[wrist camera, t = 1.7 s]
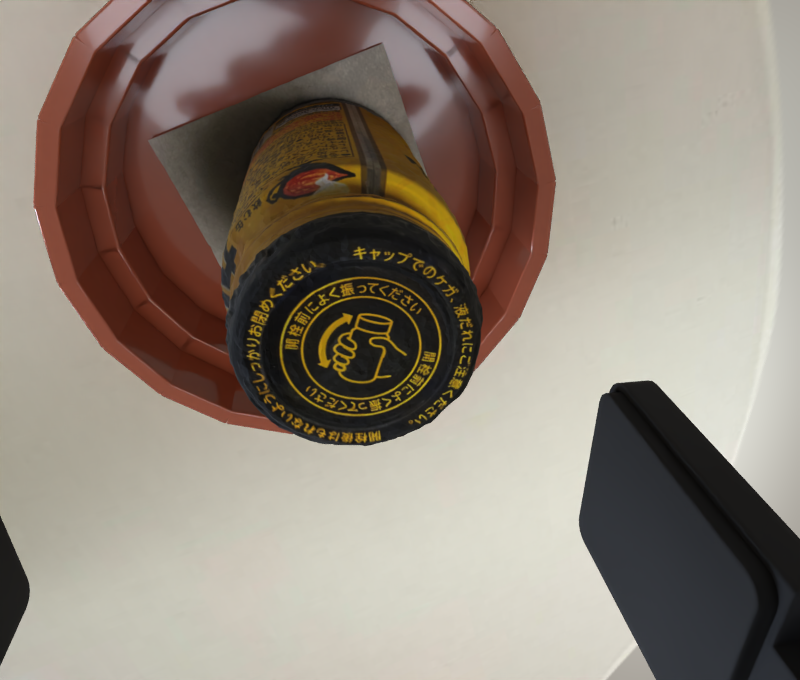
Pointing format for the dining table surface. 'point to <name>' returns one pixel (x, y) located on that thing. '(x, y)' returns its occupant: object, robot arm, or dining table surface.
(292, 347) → the condiment
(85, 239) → the bowl
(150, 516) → the dining table surface
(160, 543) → the dining table surface
